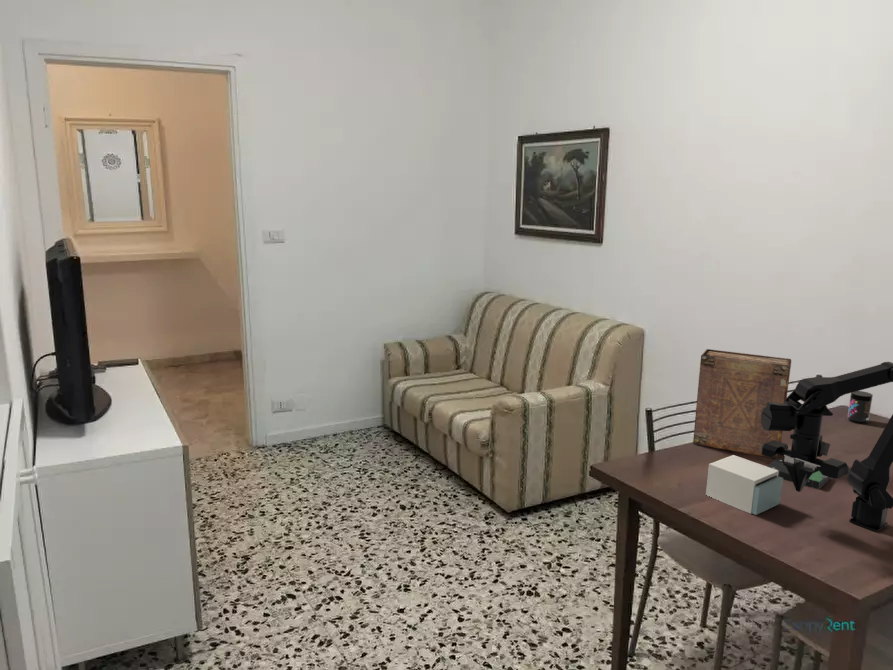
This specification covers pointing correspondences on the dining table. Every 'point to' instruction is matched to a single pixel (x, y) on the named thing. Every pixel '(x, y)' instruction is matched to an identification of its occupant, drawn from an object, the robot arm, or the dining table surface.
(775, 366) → the book
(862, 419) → the supplement container
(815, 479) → the disk drive
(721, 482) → the panel
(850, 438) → the dining table surface
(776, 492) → the tray
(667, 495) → the dining table surface
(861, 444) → the dining table surface
